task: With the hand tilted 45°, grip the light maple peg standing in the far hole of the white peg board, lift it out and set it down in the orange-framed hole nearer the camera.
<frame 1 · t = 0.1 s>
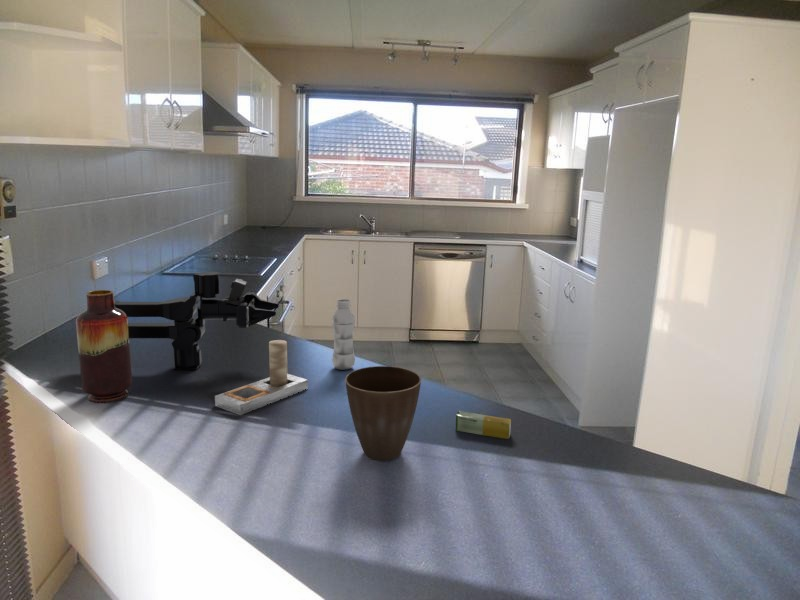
hand: (277, 309, 170), 17 cm above the worktop, tool horizontal, fingers open, 9 cm apart
white peg board: (263, 397, 149), on the worktop
medication box: (482, 434, 132), on the worktop
maple peg: (278, 391, 153), resting in white peg board
vase: (108, 397, 147), on the worktop
plant pot: (381, 454, 121), on the worktop
plastic bottle: (343, 369, 172), on the worktop
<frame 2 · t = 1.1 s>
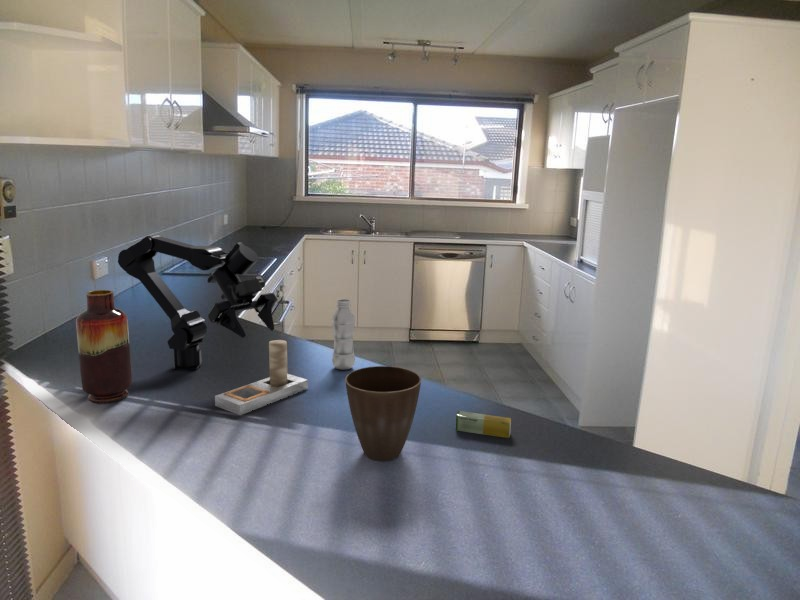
hand: (259, 333, 155), 14 cm above the worktop, tool tilted 45°, fingers open, 9 cm apart
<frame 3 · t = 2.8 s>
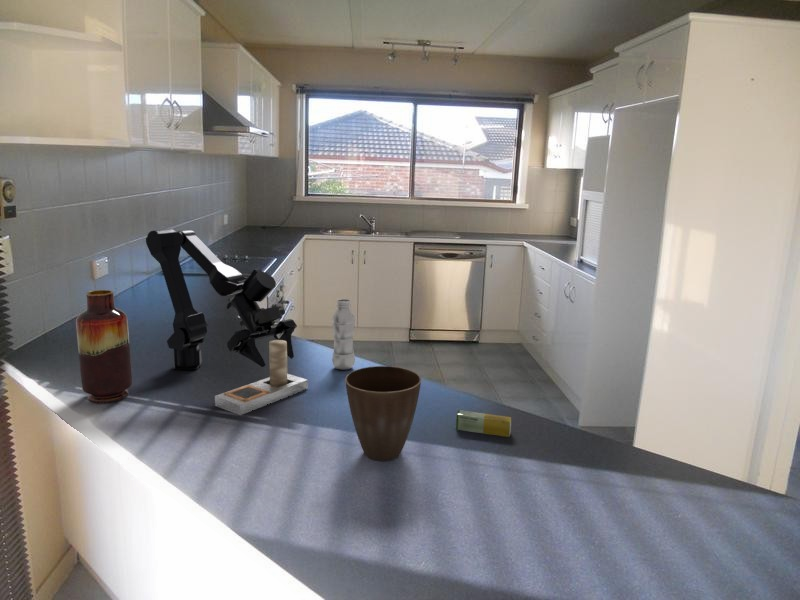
hand: (278, 362, 151), 8 cm above the worktop, tool tilted 45°, fingers open, 9 cm apart
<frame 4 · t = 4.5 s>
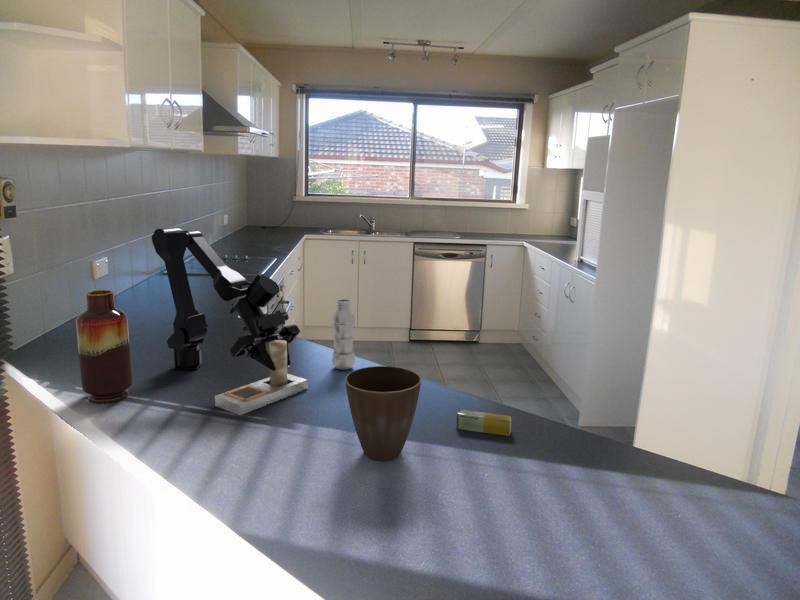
hand: (282, 367, 151), 7 cm above the worktop, tool tilted 45°, fingers closed on maple peg, 4 cm apart
maple peg: (278, 391, 153), resting in white peg board, touching gripper
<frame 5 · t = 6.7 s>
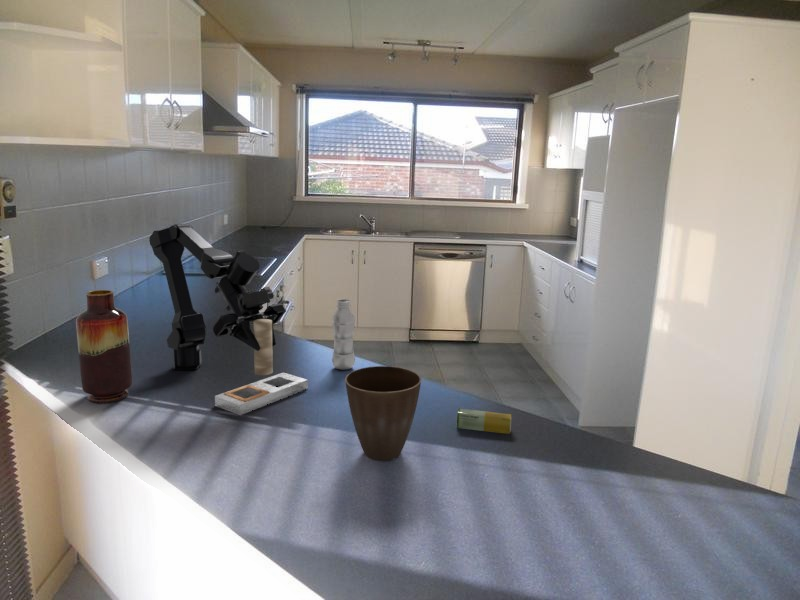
hand: (266, 347, 146), 13 cm above the worktop, tool tilted 45°, fingers closed on maple peg, 4 cm apart
maple peg: (263, 372, 148), point 6 cm above the worktop, touching gripper
when the fingers open (7 cm above the worktop, at t = 8.9 s): maple peg stays where it is, resting in white peg board.
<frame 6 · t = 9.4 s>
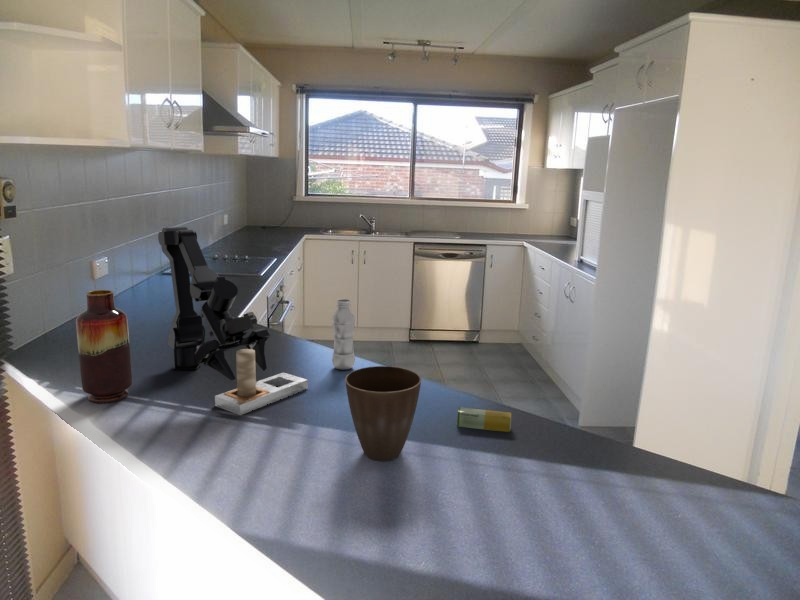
hand: (249, 374, 142), 8 cm above the worktop, tool tilted 45°, fingers open, 9 cm apart
maple peg: (247, 403, 145), resting in white peg board
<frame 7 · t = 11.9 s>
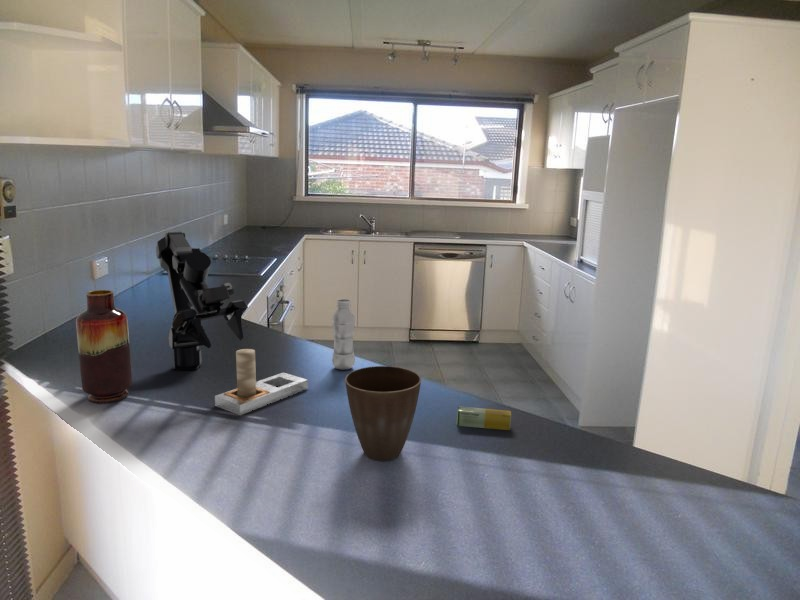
hand: (226, 343, 147), 14 cm above the worktop, tool tilted 45°, fingers open, 9 cm apart
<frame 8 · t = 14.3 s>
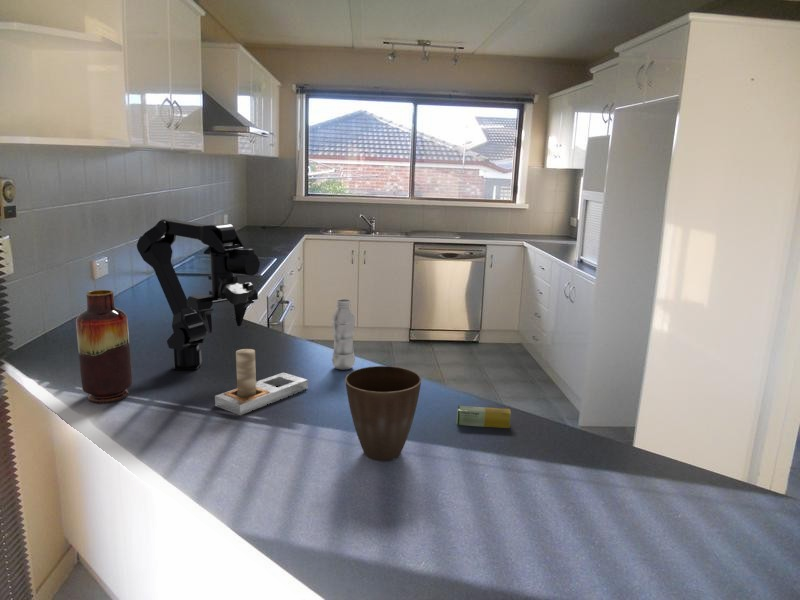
hand: (224, 329, 161), 13 cm above the worktop, tool pointing down, fingers open, 9 cm apart
at the end: maple peg 0.0 cm from the target spot on the white peg board, point 0.0 cm above the white peg board's base; maple peg tilted 0°; the gripper is holding nothing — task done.
